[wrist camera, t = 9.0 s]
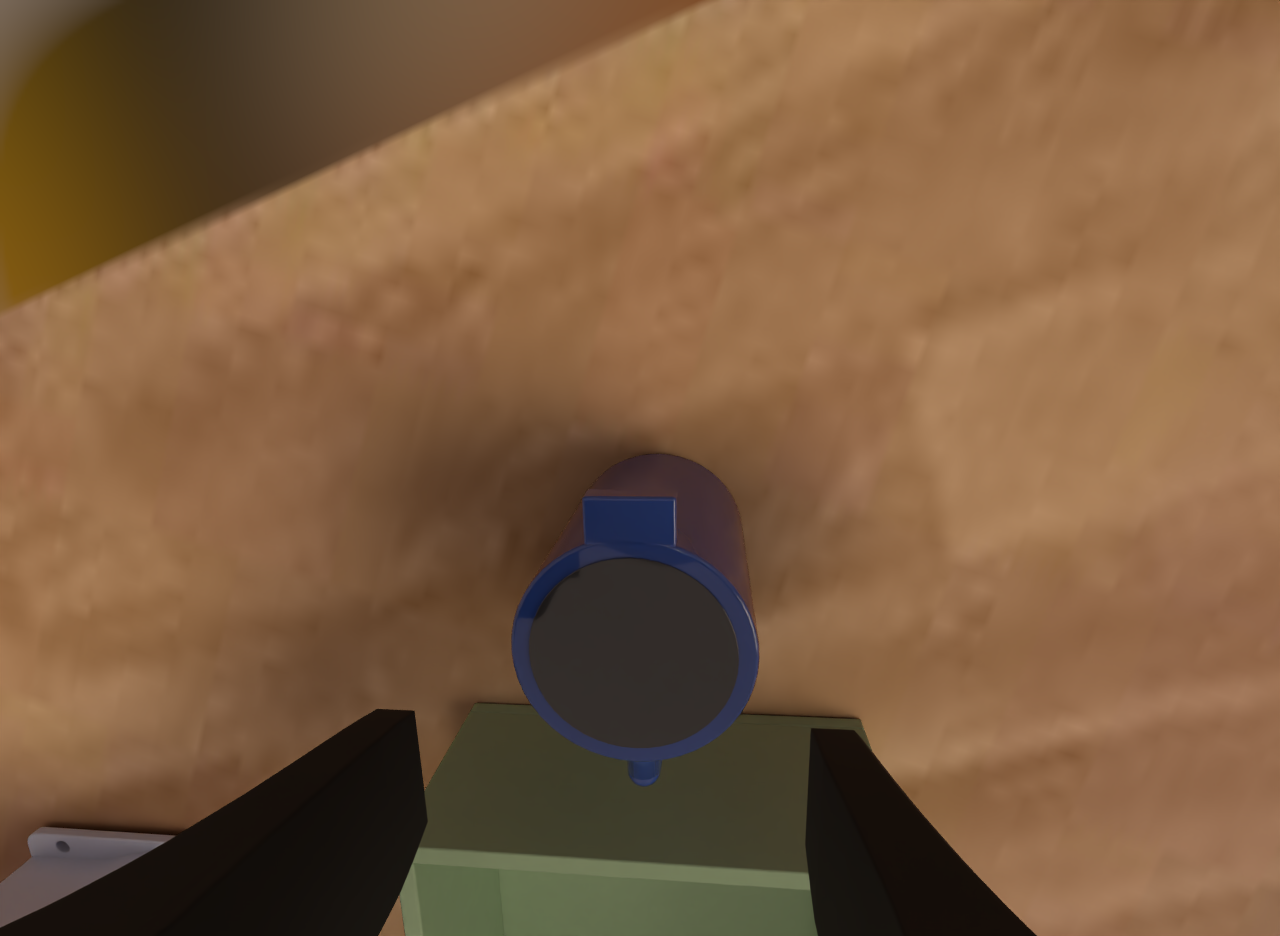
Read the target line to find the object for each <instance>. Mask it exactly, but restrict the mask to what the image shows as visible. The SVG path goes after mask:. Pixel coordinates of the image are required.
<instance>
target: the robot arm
mask: <svg viewBox="0 0 1280 936" xmlns="http://www.w3.org/2000/svg"><path fill="white" fill-rule="evenodd" d="M427 823H428V818H427V809H426V801H425V793H424V785H423V777H422V768H421V760H420V752H419V744H418V735H417V727H416V719H415V711H411V710H388V709H376V710H375V711H373V712H371V713H369V714H368V715H366V716H364V717H362V718H361V719H359V720H357V721H356V722H354V723H353V724H351V725H350V726H348V727H346V728H345V729H343V730H342V731H340V732H339V733H337V734H336V735H334V736H332V737H331V738H329V739H328V740H326V741H325V742H323V743H322V744H320V745H319V746H317V747H316V748H314V749H313V750H311V751H310V752H308V753H307V754H305V755H304V756H302V757H301V758H299V759H298V760H296V761H295V762H293V763H292V764H290V765H288V766H287V767H285V768H284V769H282V770H281V771H279V772H278V773H276V774H275V775H273V776H272V777H270V778H269V779H267V780H265V781H264V782H262V783H261V784H259V785H258V786H256V787H255V788H253V789H252V790H250V791H249V792H247V793H245V794H244V795H242V796H241V797H239V798H237V799H236V800H234V801H232V802H231V803H229V804H227V805H226V806H224V807H223V808H221V809H219V810H218V811H216V812H214V813H213V814H211V815H209V816H208V817H206V818H205V819H203V820H201V821H200V822H198V823H196V824H195V825H193V826H191V827H190V828H188V829H186V830H185V831H183V832H182V833H180V834H178V835H177V836H174V835H159V834H144V833H129V832H114V831H99V830H84V829H69V828H54V827H40V828H39V829H37V830H36V831H35V832H33V833H32V834H31V835H29V837H28V846H29V849H30V853H31V856H32V857H31V858H30V859H29V860H28V861H26V862H25V863H24V864H23V865H22V866H20V867H19V868H18V869H17V870H15V871H14V872H13V873H12V874H11V875H9V876H8V877H7V878H6V879H5V880H3V881H2V882H1V883H0V936H378V935H379V933H380V931H381V929H382V927H383V926H384V924H385V922H386V920H387V918H388V916H389V914H390V912H391V910H392V908H393V906H394V904H395V902H396V900H397V898H398V896H399V894H400V892H401V890H402V888H403V885H404V883H405V880H406V878H407V876H408V873H409V871H410V868H411V866H412V863H413V861H414V858H415V855H416V853H417V850H418V847H419V845H420V842H421V839H422V836H423V834H424V831H425V828H426V826H427ZM805 848H806V857H807V865H808V874H809V882H810V890H811V897H812V905H813V913H814V920H815V925H816V930H817V934H818V936H1037V935H1035V934H1034V933H1033V932H1032V931H1031V930H1030V929H1029V928H1028V927H1027V926H1026V925H1025V924H1024V923H1023V922H1022V921H1021V920H1020V919H1019V918H1018V917H1017V916H1016V915H1015V914H1014V913H1013V912H1012V911H1011V910H1010V909H1009V908H1008V907H1007V906H1006V905H1005V904H1004V903H1003V902H1002V901H1001V900H1000V899H999V898H998V897H997V896H996V895H995V893H994V892H993V891H992V890H991V889H990V888H989V887H988V886H987V885H986V884H985V883H984V882H983V881H982V880H981V879H980V878H979V877H978V876H977V875H976V874H975V873H974V872H973V870H972V869H971V868H970V867H969V866H968V865H967V864H966V863H965V862H964V861H963V860H962V859H961V857H960V856H959V855H958V854H957V853H956V852H955V851H954V850H953V849H952V847H951V846H950V845H949V844H948V843H947V842H946V841H945V839H944V838H943V837H942V836H941V835H940V834H939V833H938V831H937V830H936V829H935V828H934V827H933V826H932V825H931V823H930V822H929V821H928V820H927V819H926V818H925V817H924V815H923V814H922V813H921V812H920V811H919V810H918V808H917V807H916V806H915V805H914V804H913V802H912V801H911V800H910V799H909V798H908V796H907V795H906V794H905V793H904V791H903V790H902V789H901V788H900V786H899V785H898V784H897V783H896V782H895V780H894V779H893V778H892V777H891V775H890V774H889V773H888V771H887V770H886V769H885V768H884V766H883V765H882V764H881V763H880V761H879V760H878V759H877V757H876V756H875V755H874V754H873V752H872V751H871V750H870V748H869V747H868V746H867V744H866V743H865V742H864V741H863V739H862V738H861V737H860V736H859V735H858V734H857V733H856V732H855V730H844V729H821V728H811V734H810V755H809V775H808V795H807V816H806V836H805Z"/></svg>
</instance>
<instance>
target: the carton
mask: <svg viewBox="0 0 1280 936" xmlns="http://www.w3.org/2000/svg"><path fill="white" fill-rule="evenodd" d="M811 728H821V729H844V730H855V732H856V733H857V734H858V735H859V736H860V737H861V738H862V739H863V741H864V742H865V743H866V744H867V746H868V747H869V748H870V750H871V747H870V744H869V741H868V739H867V736H866V733H865V730H864V728H863V725H862V722H861V720H860V719H842V718H818V717H794V716H770V715H747V714H740V715H739V716H738V717H737V719H736V720H735V721H734V722H733V724H732V725H731V726H730V727H729V728H728V729H727V730H725V731H724V732H723V733H722V734H721V735H720V736H719V737H717V738H716V739H714V740H713V741H712V742H710V743H709V744H707V745H705V746H703V747H701V748H699V749H697V750H696V751H693V752H690V753H688V754H685V755H682V756H679V757H675V758H671V759H667V760H662V764H661V772H660V776H659V778H658V779H657V781H656V782H655V783H654V784H652V785H651V786H647V787H641V786H638V785H636V784H634V783H633V782H632V781H631V779H630V778H629V775H628V772H627V761H625V760H618V759H614V758H609V757H605V756H602V755H599V754H596V753H593V752H590V751H588V750H586V749H584V748H582V747H580V746H577V745H576V744H574V743H572V742H571V741H569V740H567V739H566V738H564V737H563V736H561V735H560V734H559V733H558V732H556V731H555V730H554V729H553V728H551V727H550V726H549V725H548V724H547V723H546V722H545V721H544V720H543V719H542V718H541V717H540V715H539V714H538V713H537V712H536V710H535V709H534V708H533V707H532V705H510V704H486V703H475V704H474V706H473V708H472V709H471V711H470V713H469V714H468V716H467V718H466V720H465V721H464V723H463V725H462V727H461V728H460V730H459V732H458V733H457V735H456V737H455V739H454V740H453V742H452V744H451V746H450V747H449V749H448V751H447V753H446V754H445V756H444V758H443V760H442V761H441V763H440V765H439V767H438V768H437V770H436V772H435V774H434V775H433V777H432V779H431V780H430V782H429V784H428V786H427V787H426V789H425V791H424V793H425V801H426V809H427V818H428V823H427V826H426V828H425V831H424V834H423V836H422V839H421V842H420V845H419V847H418V850H417V853H416V855H415V858H414V861H413V863H412V866H411V868H410V871H409V873H408V876H407V878H406V880H405V883H404V885H403V888H402V890H401V892H400V902H401V909H402V916H403V923H404V930H405V936H818V934H817V930H816V925H815V920H814V913H813V905H812V897H811V890H810V882H809V874H808V865H807V857H806V848H805V836H806V816H807V795H808V775H809V755H810V734H811ZM871 751H872V750H871Z"/></svg>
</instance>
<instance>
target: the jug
mask: <svg viewBox="0 0 1280 936" xmlns="http://www.w3.org/2000/svg"><path fill="white" fill-rule="evenodd" d="M511 650H512V657H513V663H514V667H515V671H516V674H517V678H518V680H519V683H520V685H521V687H522V690H523V692H524V694H525V695H526V697H527V699H528V700H529V702H530V704H531V705H532V707H533V708H534V709H535V710H536V712H537V713H538V714H539V715H540V717H541V718H542V719H543V720H544V721H545V722H546V723H547V724H548V725H549V726H550V727H551V728H553V729H554V730H555V731H556V732H558V733H559V734H560V735H561V736H563V737H564V738H566V739H567V740H569V741H571V742H572V743H574V744H576V745H577V746H580V747H582V748H584V749H586V750H588V751H590V752H593V753H596V754H599V755H602V756H605V757H609V758H614V759H618V760H625V761H627V772H628V775H629V778H630V779H631V781H632V782H633V783H634V784H636V785H638V786H641V787H647V786H651V785H652V784H654V783H655V782H656V781H657V779H658V778H659V776H660V772H661V764H662V760H667V759H671V758H675V757H679V756H682V755H685V754H688V753H690V752H693V751H696V750H697V749H699V748H701V747H703V746H705V745H707V744H709V743H710V742H712V741H713V740H714V739H716V738H717V737H719V736H720V735H721V734H722V733H723V732H724V731H725V730H727V729H728V728H729V727H730V726H731V725H732V724H733V722H734V721H735V720H736V719H737V717H738V716H739V715H740V714H741V712H742V711H743V709H744V707H745V706H746V704H747V702H748V701H749V698H750V696H751V694H752V691H753V689H754V686H755V682H756V678H757V674H758V667H759V641H758V634H757V627H756V620H755V613H754V606H753V599H752V592H751V585H750V578H749V570H748V563H747V556H746V549H745V542H744V535H743V528H742V522H741V517H740V513H739V511H738V508H737V505H736V503H735V501H734V499H733V497H732V495H731V494H730V492H729V491H728V489H727V488H726V486H725V485H724V484H723V483H722V482H721V481H720V480H719V479H718V478H717V477H716V476H715V475H714V474H712V473H711V472H710V471H709V470H707V469H706V468H704V467H702V466H701V465H699V464H697V463H695V462H693V461H691V460H688V459H685V458H682V457H678V456H673V455H668V454H646V455H641V456H635V457H632V458H629V459H626V460H624V461H622V462H619V463H617V464H615V465H614V466H612V467H611V468H609V469H608V470H606V471H605V472H604V473H603V474H602V475H600V476H599V477H598V478H597V479H596V480H595V482H594V483H593V484H592V485H591V486H590V488H589V489H588V490H587V491H586V492H585V494H584V496H583V498H582V500H581V502H580V504H579V505H578V507H577V509H576V510H575V512H574V513H573V515H572V517H571V518H570V520H569V521H568V523H567V525H566V526H565V528H564V529H563V531H562V533H561V534H560V536H559V537H558V539H557V541H556V542H555V544H554V545H553V547H552V549H551V550H550V552H549V553H548V555H547V557H546V558H545V560H544V561H543V563H542V565H541V566H540V568H539V569H538V571H537V573H536V574H535V576H534V578H533V579H532V581H531V582H530V584H529V586H528V587H527V589H526V590H525V592H524V594H523V596H522V598H521V600H520V602H519V604H518V607H517V610H516V613H515V617H514V620H513V627H512V634H511Z"/></svg>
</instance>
